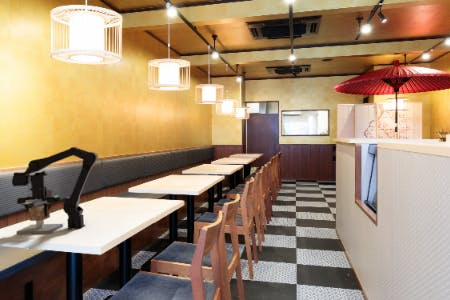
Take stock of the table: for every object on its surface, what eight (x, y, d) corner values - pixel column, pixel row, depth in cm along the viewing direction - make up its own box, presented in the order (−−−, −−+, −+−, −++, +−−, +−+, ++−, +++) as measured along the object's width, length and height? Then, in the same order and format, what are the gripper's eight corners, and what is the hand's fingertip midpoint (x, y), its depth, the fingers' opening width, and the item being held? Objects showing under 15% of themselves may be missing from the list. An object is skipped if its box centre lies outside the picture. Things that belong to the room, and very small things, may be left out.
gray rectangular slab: (62, 226, 172) (62, 223, 172) (49, 233, 160) (49, 230, 160) (31, 227, 172) (31, 224, 172) (16, 234, 160) (16, 231, 160)
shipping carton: (50, 217, 169) (49, 204, 169) (42, 220, 162) (41, 207, 162) (37, 217, 169) (36, 205, 169) (29, 220, 163) (28, 208, 162)
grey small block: (44, 226, 167) (43, 219, 166) (42, 227, 165) (42, 220, 165) (38, 227, 167) (37, 220, 167) (36, 227, 165) (36, 220, 165)
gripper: (65, 182, 173) (66, 212, 173) (29, 183, 173) (31, 213, 174) (53, 185, 162) (55, 217, 162) (15, 186, 162) (17, 219, 163)
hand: (39, 216), depth 166 cm, fingers closed on shipping carton, 6 cm apart
